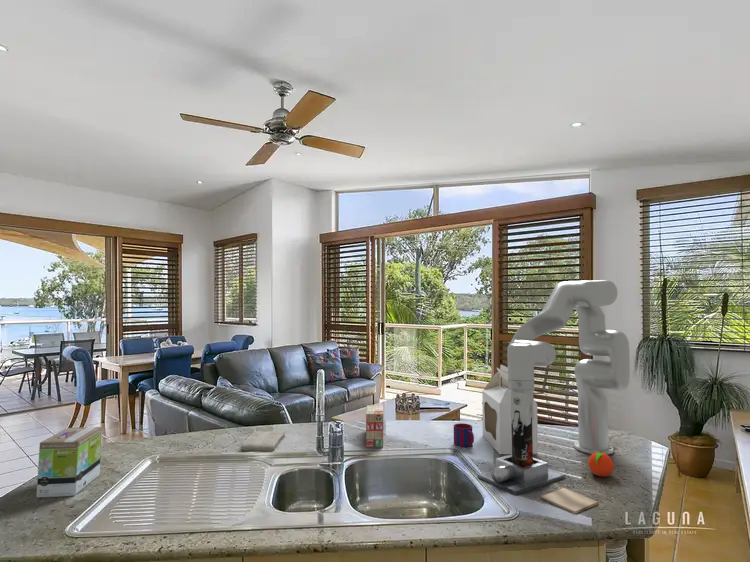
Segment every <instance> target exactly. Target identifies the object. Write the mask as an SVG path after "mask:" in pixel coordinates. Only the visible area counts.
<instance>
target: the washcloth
mask: <svg viewBox="0 0 750 562" xmlns="http://www.w3.org/2000/svg"><path fill="white" fill-rule="evenodd" d="M285 434H286V432H285V431H284V430H277V431H273V430H272V431H271V430H256V431H255V432H253V433H251V434H250V435H249V436H248V437H247V438H246V439H245V440H244V441H243V443H242V445H241V450H242V451H243V452H246V451H247V452H249V451H250V452H253V451H255V452H256V451H259V452H274V451H275V450H277V448H278V446H279V445H280V444H281V442H282V441H283V440H284V438H285V437H286V435H285Z"/></svg>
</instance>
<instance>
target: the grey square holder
mask: <svg viewBox="0 0 750 562" xmlns="http://www.w3.org/2000/svg"><path fill="white" fill-rule="evenodd" d="M477 478H478V479H479V480H483V481H484V482H487V483H488V484H490V485H492V486H495V487H498V488H499V489H501V490H504V491H505V492H508V493H510V494H513V495H515V496H517V495H521V494H523V493H526V492H528V491H531V490H535V489H537V488H540V487H543V486H546V485H549V484H552V483H555V482H557V481H560V480H563V479H565V478H566V474H565V473H563V472H560V471H557V470H555V469H552V468H549V463H548V461H547V462H546V461H544V460H542V459H539V458H536V457H533V465H530V466H526V467H521V466H519V465H516V464H513V463H512V454H511V455H504V456H501V457H497V458H495V467H493V468H491V469H490V470H488V471H485V472H480V473H478V474H477ZM554 481H555V482H554Z"/></svg>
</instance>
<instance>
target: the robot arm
mask: <svg viewBox="0 0 750 562" xmlns="http://www.w3.org/2000/svg"><path fill="white" fill-rule="evenodd" d="M617 298H618V288H617V286H616V284H615V282H613V281H611V280H608V279H605V280H604V279H600V280H598V279H597V280H595V279H594V280H568V281H567V280H565V281H561V282H559V283H557V284H556V285H555V287H554V288H553V290H552V291H551V293H550V295H549V297H548V298H547V301H546V303H545V304H544V307H543V308H542V310H541V311H540V312H539V313H538V314H536V315H534V316H533V317H531V318H530V319H528V320H527V321H525V322H524V323H523V324H521V326H520V327H519V328H518V329H517V330H516V331H515V333H514V335H513V336H512V339H511V341H510V343H509V344H508V346H507V348H506V349H507V350H506V351H507V352H506V353H507V367H508V389H509V390H511V407H510V413H511V423H512V424H513V439H514V448H518V449H523V450H524V449H525V435H524V425H525V426H528V425H529V424H530V423H531V418H532V421H533V420H534V418H535V415H534V400H535V399H534V393H533V392H534V391H535V367H547V366H550V365H551V364H553V363H554V361H555V360H556V356H557V351H556V349H555V347H554V346H553V344H551V343H550V342H546V341H541V340H535V339H537V338H538V337H541V336H544V335H546V334H548V333H549V334H550V333H553V332H555V331H558V330H560V329H563V328H565V326H567V324H568V322H569V320H570V318H571V316H572V313H574V310H575V311H576V313H577V318H578V346H579V347H578V348H579V350H580V351H581V353H583V355H587V356H592V357H593V356H595V357H603V358H609V361H607V360H602V359H601V360H600V359H593V358H592V359H591V358H584V359H581V360H579V361H577V362H576V364H575V366H574V376H575V382H576V387H577V413H578V415H577V416H578V417H577V418H578V420H577V421H578V424H577V425H578V428H577V429H578V440H577V441H575V442H574V443H573V448H574V449H576V450H577V451H580V452H582V453H586V454H589V455H592V454H593V453H595V452H603V453H605V454H607V455H608V456H609V455H612V454H613V453H614V448H613V446H611V445H610V442H612V441H613V440H614V439H615V437H614V435H613V434H609V402H608V397H607V395H606V393H605V391H604V390H603V389H606V390H610V391H618V392H619V391H625V390H626V389H627V388H628V387H629V385H630V379H631V378H630V377H631V373H630V372H631V370H630V369H631V366H630V364H631V363H630V361H631V360H630V355H631V354H630V342H629V338H628V337H627V335H626V334H625V333H624V332H623V331H621V330H614V329H606V317H605V313H604V311H603V309H602V307H604V306H606V307H607V306H610V305H612V304H614V303H615V302H616V300H617ZM533 399H534V400H533ZM513 420H514V421H513ZM519 422H522V424H519ZM519 426H520V427H521V429H520V428H519Z"/></svg>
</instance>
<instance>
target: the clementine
mask: <svg viewBox="0 0 750 562" xmlns="http://www.w3.org/2000/svg"><path fill="white" fill-rule="evenodd" d="M587 463H588V467H589V470H590V471H591V472H592V473H593V474H594V475H595V476H598V477H604V478H605V477H608V476H610V475H611V474H612V473H613V472H614V468H615V463H614V461H613V459H612V458H611V456H610V455H609V454H608V455H607V454H605V453H603V452H595V453H593V454H590V456H589V457H588V461H587Z"/></svg>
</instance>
